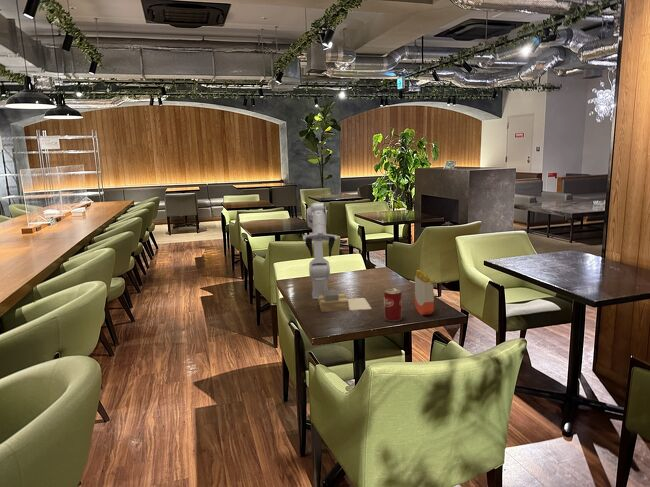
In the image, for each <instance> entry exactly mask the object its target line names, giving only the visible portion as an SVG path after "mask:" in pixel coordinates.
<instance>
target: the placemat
mask: <svg viewBox="0 0 650 487" xmlns="http://www.w3.org/2000/svg"><path fill="white" fill-rule="evenodd" d="M347 300H348V301H349V311H350V312H352V311H353V312H354V311H355V312H356V311H365V310H367V311H368V310H372V307H371V305H370V304H369V302H368V301H367V299H366V298H365V297H358V298H357V297H355V298H347Z"/></svg>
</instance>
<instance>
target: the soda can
mask: <svg viewBox="0 0 650 487" xmlns="http://www.w3.org/2000/svg"><path fill="white" fill-rule="evenodd" d="M383 311H384V312H383V318H384V320H385V321H387V322H391V323H394V322H399V321H401V320H402V318H403V292H402V290H400V289H396V288H387V289H385V290H384V291H383Z"/></svg>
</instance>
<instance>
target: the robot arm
mask: <svg viewBox="0 0 650 487" xmlns="http://www.w3.org/2000/svg"><path fill="white" fill-rule="evenodd" d="M327 212H328V211H327V207H326V203H325V202H319V201H316V202H313V203H312V204H311V205H310V206H309V207H308V208H307V209H306V222H307V227H308V228H311V230H312V231H311V232H312V233H311V234H305V235H302V242H305V246H306V247H307V250H308V251H309V254H310V257H311V258H312V260H311V261H310V262H309V266H308V270H309V271H308V272H309V273H308V274H309V278H310V279H312V280H311V281H312V282H311V283H312V292H311V298H312V300H318V294H323V290H329V289H328V285H329V284H328V279H329V278H330V277H331V268H330V267H331V266H330V262H329V260H327V259H325V257H324V249H323V241H328V242H327V243H328V257H331V256H332V250H333V247H334V244H335V242H337V240H338V235H337V234H331V233H330V234H329V233H327V221H328V220H327V219H328V214H327ZM313 257H314V258H313Z"/></svg>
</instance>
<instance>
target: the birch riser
mask: <svg viewBox="0 0 650 487" xmlns="http://www.w3.org/2000/svg"><path fill="white" fill-rule="evenodd" d="M337 293H338V295H339V300H338V301H325V299H324V297H323V294H318V299H317V301H318V305H319V307H320V312H321V313H328V312H331V313H332V312H341V311H343V312H345V311H350V309H349V301H348V300H347V299H348V298H347V296H346V294H345V292H337Z"/></svg>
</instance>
